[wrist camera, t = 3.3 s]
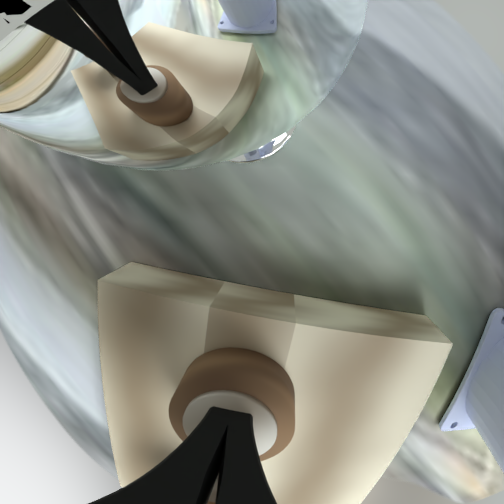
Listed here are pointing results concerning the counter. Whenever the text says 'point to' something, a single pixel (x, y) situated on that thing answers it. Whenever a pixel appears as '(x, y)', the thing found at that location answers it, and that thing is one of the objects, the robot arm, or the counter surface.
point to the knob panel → (286, 355)
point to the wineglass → (170, 75)
